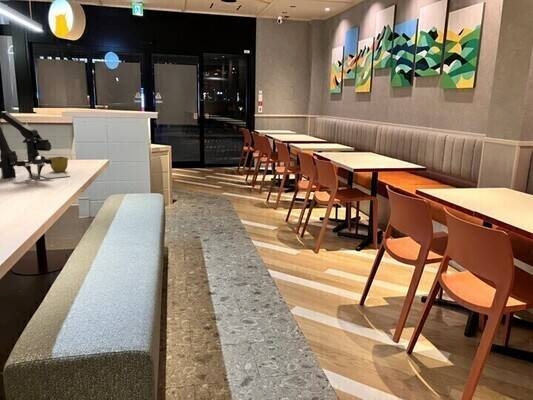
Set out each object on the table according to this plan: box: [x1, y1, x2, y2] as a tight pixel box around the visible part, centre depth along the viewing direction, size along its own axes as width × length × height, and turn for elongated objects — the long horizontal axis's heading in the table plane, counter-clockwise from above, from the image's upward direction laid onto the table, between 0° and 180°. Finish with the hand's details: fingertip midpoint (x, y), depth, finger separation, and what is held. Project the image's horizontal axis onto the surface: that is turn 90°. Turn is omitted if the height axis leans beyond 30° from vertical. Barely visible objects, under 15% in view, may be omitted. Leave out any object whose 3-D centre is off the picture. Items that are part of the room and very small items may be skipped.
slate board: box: [40, 172, 71, 180], centre depth 268 cm, size 13×15×1 cm
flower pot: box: [48, 156, 69, 173], centre depth 285 cm, size 9×9×9 cm
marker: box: [28, 172, 41, 181], centre depth 261 cm, size 2×12×2 cm, turn 45°
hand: (35, 176), depth 261 cm, fingers open, 4 cm apart
